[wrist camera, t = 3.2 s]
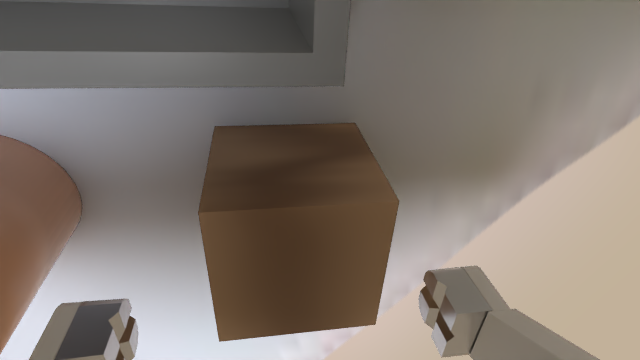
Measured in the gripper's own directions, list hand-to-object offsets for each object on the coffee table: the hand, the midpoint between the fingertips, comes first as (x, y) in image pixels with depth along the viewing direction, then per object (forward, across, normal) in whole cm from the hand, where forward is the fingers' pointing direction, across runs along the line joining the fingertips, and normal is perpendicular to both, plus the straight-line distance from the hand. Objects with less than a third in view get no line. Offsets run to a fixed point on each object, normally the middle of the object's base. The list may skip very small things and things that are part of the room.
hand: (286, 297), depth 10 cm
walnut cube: (+5, 0, 0) cm, 5 cm away
